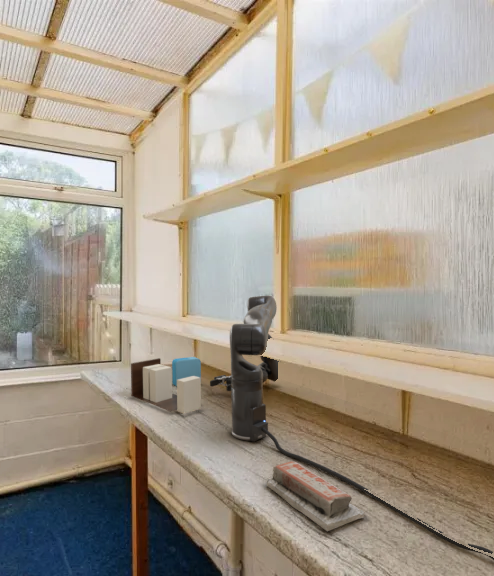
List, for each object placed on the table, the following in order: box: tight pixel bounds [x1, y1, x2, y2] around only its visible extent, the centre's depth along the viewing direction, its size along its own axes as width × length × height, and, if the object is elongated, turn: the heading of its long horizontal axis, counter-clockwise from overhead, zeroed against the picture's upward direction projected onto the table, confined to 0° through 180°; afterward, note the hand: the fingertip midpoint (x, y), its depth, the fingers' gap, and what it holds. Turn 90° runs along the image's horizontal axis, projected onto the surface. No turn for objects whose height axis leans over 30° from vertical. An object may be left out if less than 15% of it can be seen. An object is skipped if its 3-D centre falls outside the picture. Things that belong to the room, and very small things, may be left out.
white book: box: [143, 363, 165, 400], centre depth 150 cm, size 4×8×12 cm, turn 130°
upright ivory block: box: [176, 376, 202, 415], centre depth 135 cm, size 4×8×12 cm, turn 130°
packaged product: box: [266, 461, 365, 532], centre depth 80 cm, size 18×5×10 cm
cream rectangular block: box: [150, 365, 173, 403], centre depth 147 cm, size 4×8×12 cm, turn 130°
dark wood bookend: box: [130, 357, 177, 412], centre depth 147 cm, size 25×14×14 cm, turn 40°
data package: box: [171, 356, 202, 387], centre depth 169 cm, size 12×4×12 cm, turn 114°
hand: (218, 386), depth 144 cm, fingers open, 8 cm apart
